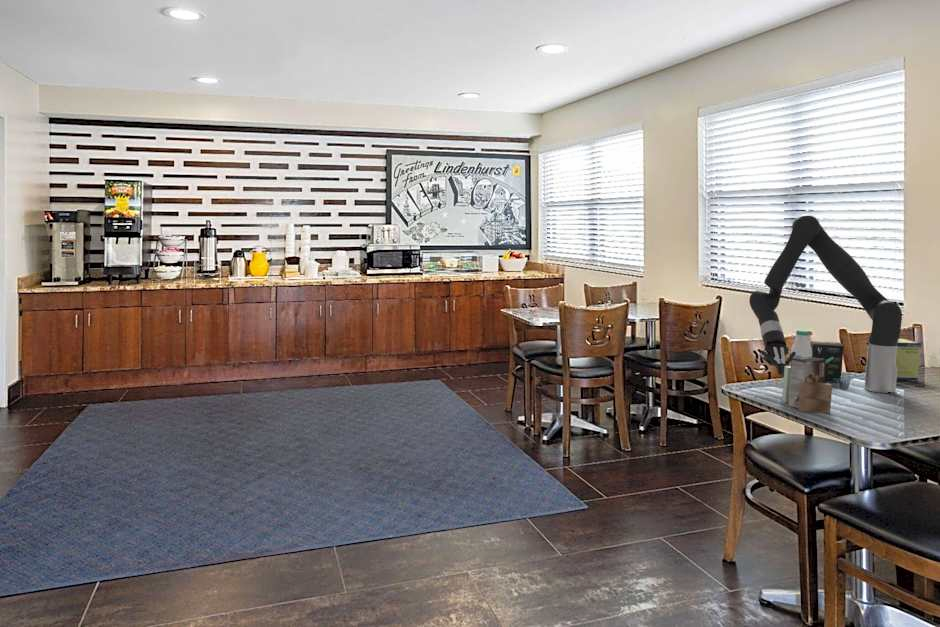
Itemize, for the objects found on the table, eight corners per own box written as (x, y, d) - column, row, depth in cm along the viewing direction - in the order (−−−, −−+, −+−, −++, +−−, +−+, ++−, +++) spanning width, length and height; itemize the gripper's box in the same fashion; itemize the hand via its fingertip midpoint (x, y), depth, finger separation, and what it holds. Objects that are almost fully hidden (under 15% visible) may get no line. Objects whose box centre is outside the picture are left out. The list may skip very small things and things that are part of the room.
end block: (825, 410, 234) (828, 383, 233) (830, 412, 231) (832, 385, 230) (797, 409, 235) (799, 382, 234) (801, 411, 232) (803, 384, 231)
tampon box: (837, 378, 287) (840, 342, 286) (841, 383, 279) (844, 345, 277) (807, 376, 291) (810, 340, 289) (810, 380, 282) (813, 343, 280)
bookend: (805, 401, 246) (808, 366, 245) (809, 403, 243) (812, 368, 242) (782, 400, 247) (784, 366, 245) (785, 402, 244) (788, 367, 242)
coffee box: (807, 403, 244) (811, 356, 242) (823, 407, 238) (827, 359, 236) (787, 405, 240) (790, 357, 238) (803, 409, 234) (806, 361, 232)
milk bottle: (805, 380, 283) (809, 329, 280) (813, 384, 275) (817, 332, 273) (785, 379, 284) (789, 328, 281) (792, 383, 276) (796, 331, 274)
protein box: (918, 381, 285) (922, 342, 283) (878, 380, 285) (882, 341, 283) (902, 376, 295) (906, 338, 293) (864, 375, 295) (867, 337, 293)
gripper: (757, 328, 265) (767, 368, 254) (794, 329, 265) (805, 369, 254) (751, 340, 271) (760, 379, 260) (787, 341, 270) (798, 380, 260)
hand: (782, 374), depth 257 cm, fingers closed
